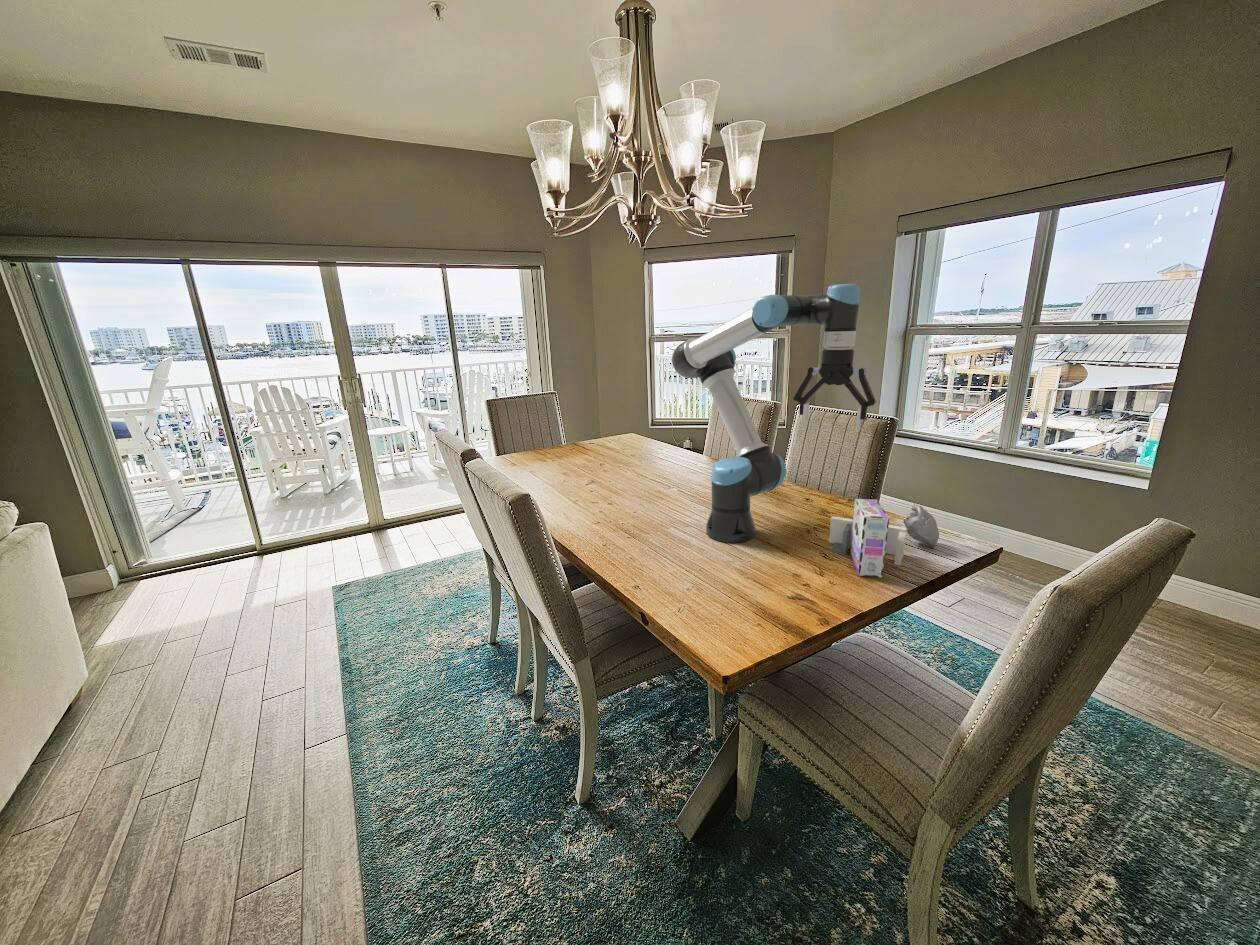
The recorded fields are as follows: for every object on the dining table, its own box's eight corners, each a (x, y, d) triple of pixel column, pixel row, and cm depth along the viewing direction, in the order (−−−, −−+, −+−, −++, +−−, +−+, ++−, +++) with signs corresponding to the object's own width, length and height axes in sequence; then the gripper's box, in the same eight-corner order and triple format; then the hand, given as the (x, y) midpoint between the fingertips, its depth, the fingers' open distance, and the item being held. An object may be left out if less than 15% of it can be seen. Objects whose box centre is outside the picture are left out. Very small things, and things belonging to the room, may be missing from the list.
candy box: (883, 578, 120) (890, 517, 115) (857, 576, 121) (863, 516, 117) (872, 554, 133) (878, 498, 128) (849, 552, 134) (854, 497, 129)
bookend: (830, 551, 135) (831, 528, 133) (834, 543, 140) (836, 521, 138) (845, 554, 133) (847, 531, 131) (849, 546, 138) (851, 523, 136)
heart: (915, 554, 131) (928, 513, 127) (891, 539, 139) (903, 501, 136) (946, 556, 132) (960, 516, 129) (921, 541, 141) (933, 503, 138)
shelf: (824, 550, 136) (826, 525, 134) (830, 540, 142) (832, 516, 140) (900, 565, 126) (904, 538, 124) (903, 554, 132) (906, 527, 130)
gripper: (785, 349, 127) (780, 427, 134) (890, 349, 114) (879, 436, 120) (793, 347, 133) (788, 422, 140) (894, 347, 120) (883, 430, 126)
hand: (830, 429), depth 130 cm, fingers open, 13 cm apart
